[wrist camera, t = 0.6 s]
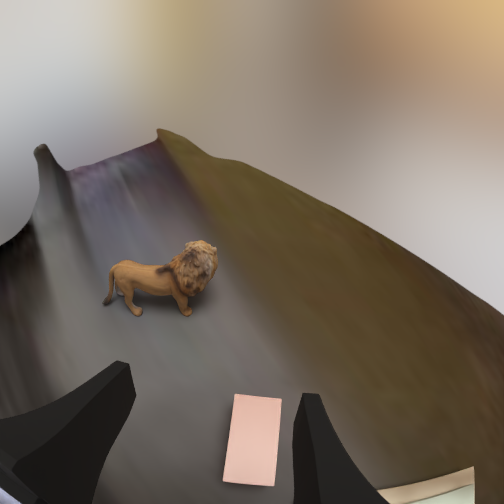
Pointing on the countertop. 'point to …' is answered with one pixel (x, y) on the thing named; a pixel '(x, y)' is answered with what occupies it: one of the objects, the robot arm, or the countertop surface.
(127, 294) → the lion figurine
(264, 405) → the terracotta brick
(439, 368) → the countertop surface
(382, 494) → the tower base
